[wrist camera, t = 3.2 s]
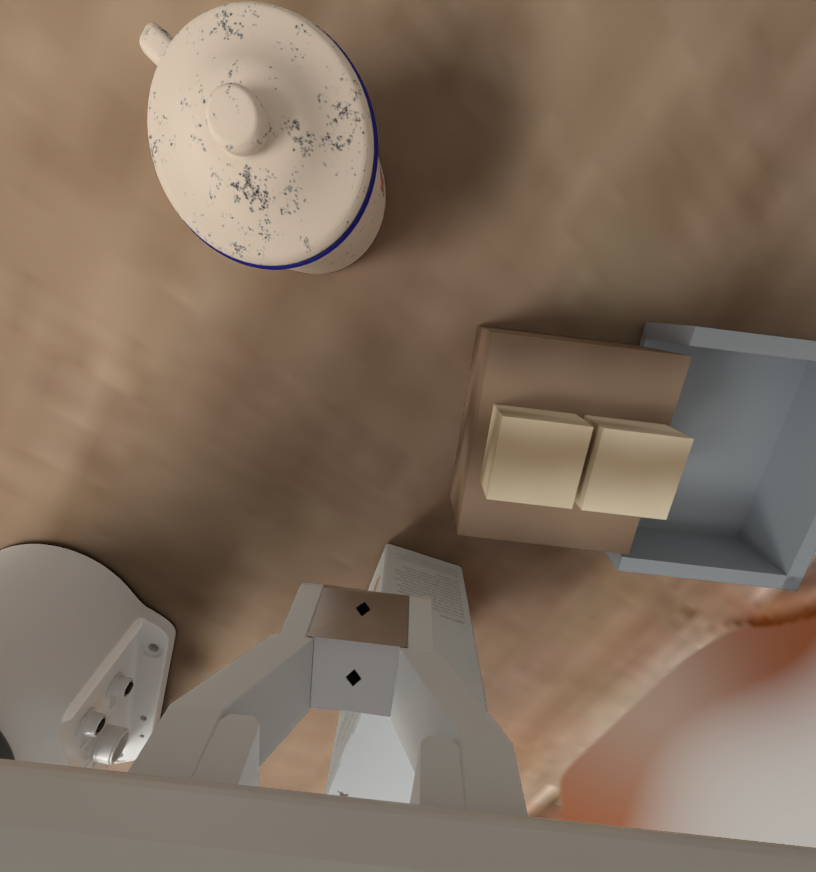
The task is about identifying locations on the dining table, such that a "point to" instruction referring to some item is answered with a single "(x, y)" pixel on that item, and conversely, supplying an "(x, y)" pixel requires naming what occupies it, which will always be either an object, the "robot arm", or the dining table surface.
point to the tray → (737, 462)
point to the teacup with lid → (265, 138)
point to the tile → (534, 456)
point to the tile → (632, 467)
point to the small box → (375, 735)
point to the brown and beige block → (562, 392)
